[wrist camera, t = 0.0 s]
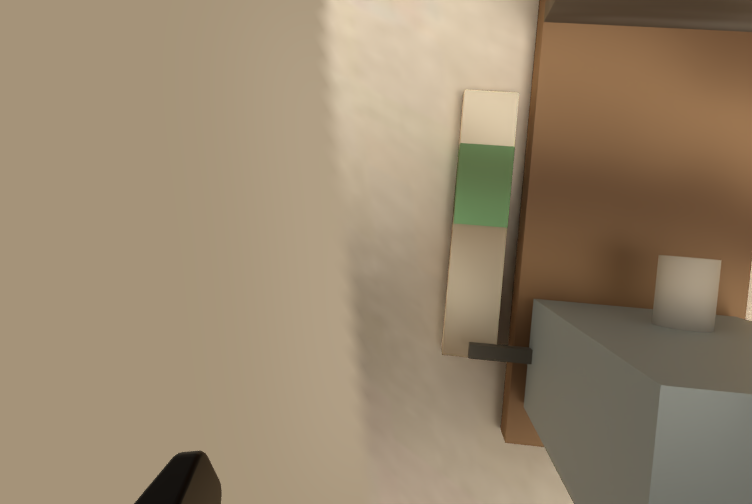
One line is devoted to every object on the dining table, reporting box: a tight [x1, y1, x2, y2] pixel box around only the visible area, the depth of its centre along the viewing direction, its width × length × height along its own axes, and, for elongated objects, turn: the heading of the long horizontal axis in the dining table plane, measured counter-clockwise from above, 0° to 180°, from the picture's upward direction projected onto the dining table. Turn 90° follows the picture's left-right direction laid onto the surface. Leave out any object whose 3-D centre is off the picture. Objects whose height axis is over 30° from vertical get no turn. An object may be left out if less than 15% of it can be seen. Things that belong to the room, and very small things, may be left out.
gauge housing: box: [442, 0, 752, 447], centre depth 17 cm, size 18×11×12 cm, turn 176°
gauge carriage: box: [468, 255, 752, 504], centre depth 15 cm, size 6×9×12 cm, turn 85°
